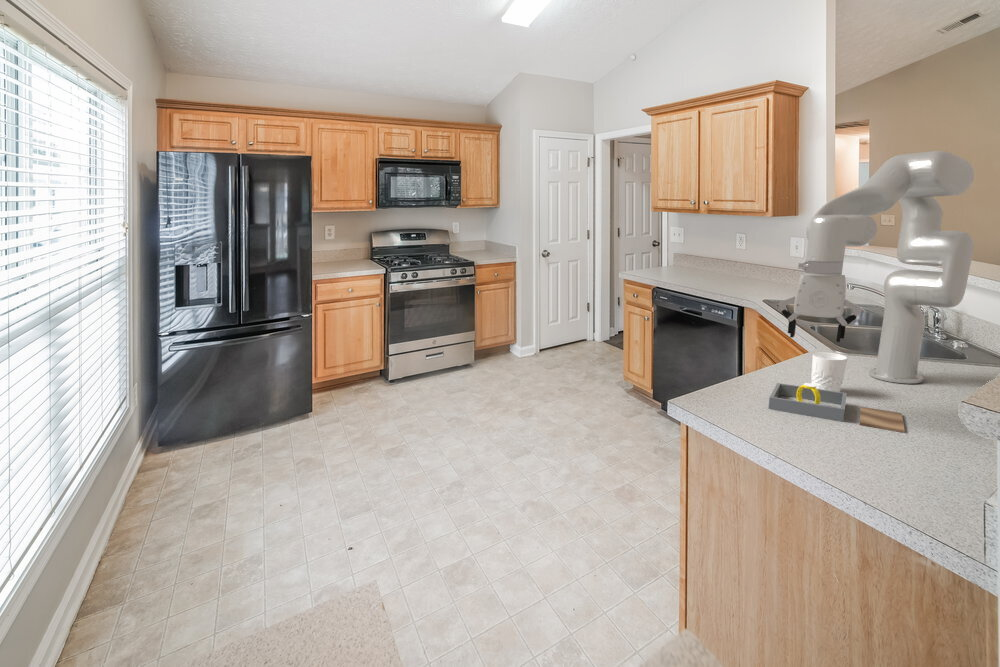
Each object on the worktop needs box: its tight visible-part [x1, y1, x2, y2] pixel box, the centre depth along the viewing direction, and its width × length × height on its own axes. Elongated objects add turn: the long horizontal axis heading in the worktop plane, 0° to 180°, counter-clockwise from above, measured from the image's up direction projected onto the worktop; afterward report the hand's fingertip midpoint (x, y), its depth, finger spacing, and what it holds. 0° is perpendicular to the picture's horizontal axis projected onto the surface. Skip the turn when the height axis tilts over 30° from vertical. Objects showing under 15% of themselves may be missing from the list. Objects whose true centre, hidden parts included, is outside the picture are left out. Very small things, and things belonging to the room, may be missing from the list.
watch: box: [796, 382, 821, 405], centre depth 126 cm, size 6×3×6 cm, turn 15°
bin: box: [768, 382, 848, 422], centre depth 127 cm, size 14×16×3 cm
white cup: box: [810, 351, 848, 392], centre depth 137 cm, size 8×8×10 cm
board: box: [859, 406, 906, 433], centre depth 117 cm, size 12×8×1 cm, turn 144°
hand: (814, 338), depth 123 cm, fingers open, 9 cm apart
